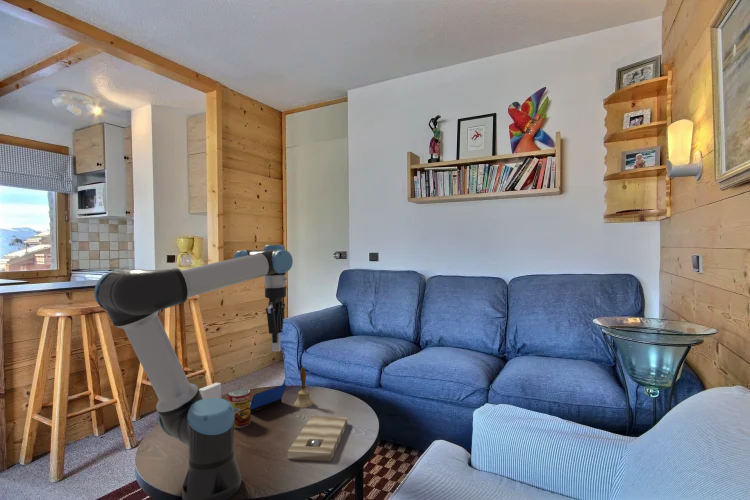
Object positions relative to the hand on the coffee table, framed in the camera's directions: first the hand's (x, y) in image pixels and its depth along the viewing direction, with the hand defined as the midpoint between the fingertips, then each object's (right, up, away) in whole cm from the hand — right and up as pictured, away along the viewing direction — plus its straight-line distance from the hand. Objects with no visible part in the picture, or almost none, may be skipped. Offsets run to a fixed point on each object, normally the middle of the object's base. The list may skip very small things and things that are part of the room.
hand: (276, 350), depth 141 cm
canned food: (-16, -30, +7) cm, 35 cm away
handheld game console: (-12, -30, +23) cm, 40 cm away
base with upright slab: (-30, -30, +14) cm, 45 cm away
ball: (+16, -28, -14) cm, 35 cm away
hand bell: (+6, -30, +24) cm, 39 cm away
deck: (+17, -29, -7) cm, 35 cm away
